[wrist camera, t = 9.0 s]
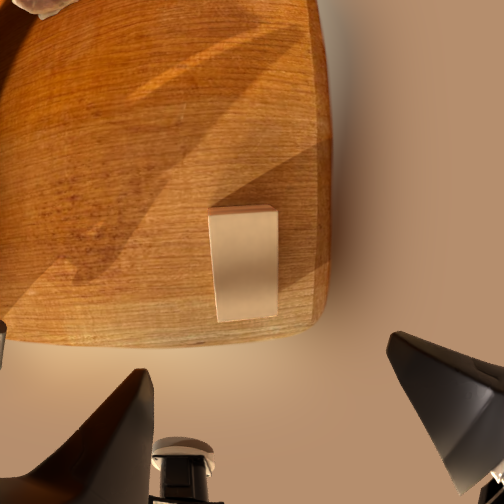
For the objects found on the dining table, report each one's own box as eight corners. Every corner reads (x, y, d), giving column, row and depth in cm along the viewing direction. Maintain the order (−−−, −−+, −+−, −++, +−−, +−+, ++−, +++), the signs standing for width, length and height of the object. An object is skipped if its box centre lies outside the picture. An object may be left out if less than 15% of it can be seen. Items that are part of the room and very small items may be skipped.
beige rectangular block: (207, 207, 18) (208, 215, 15) (269, 203, 18) (278, 210, 16) (215, 304, 20) (217, 322, 17) (270, 298, 20) (278, 316, 18)
